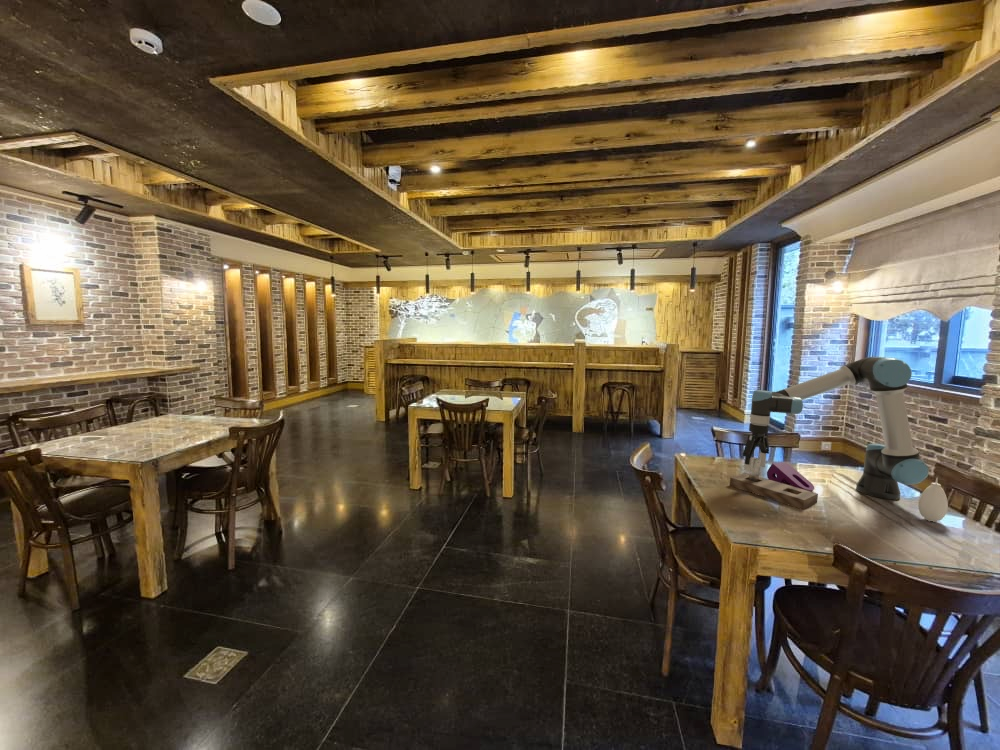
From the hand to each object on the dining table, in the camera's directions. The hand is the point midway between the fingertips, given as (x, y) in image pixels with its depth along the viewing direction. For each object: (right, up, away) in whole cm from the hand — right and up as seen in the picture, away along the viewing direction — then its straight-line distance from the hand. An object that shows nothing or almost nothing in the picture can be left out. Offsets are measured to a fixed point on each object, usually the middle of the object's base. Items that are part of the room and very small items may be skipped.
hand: (754, 468), depth 192 cm
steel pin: (0, -9, +1) cm, 9 cm away
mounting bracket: (+21, -10, +5) cm, 24 cm away
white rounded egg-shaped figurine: (+52, -14, -29) cm, 61 cm away
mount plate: (+4, -10, -6) cm, 12 cm away
